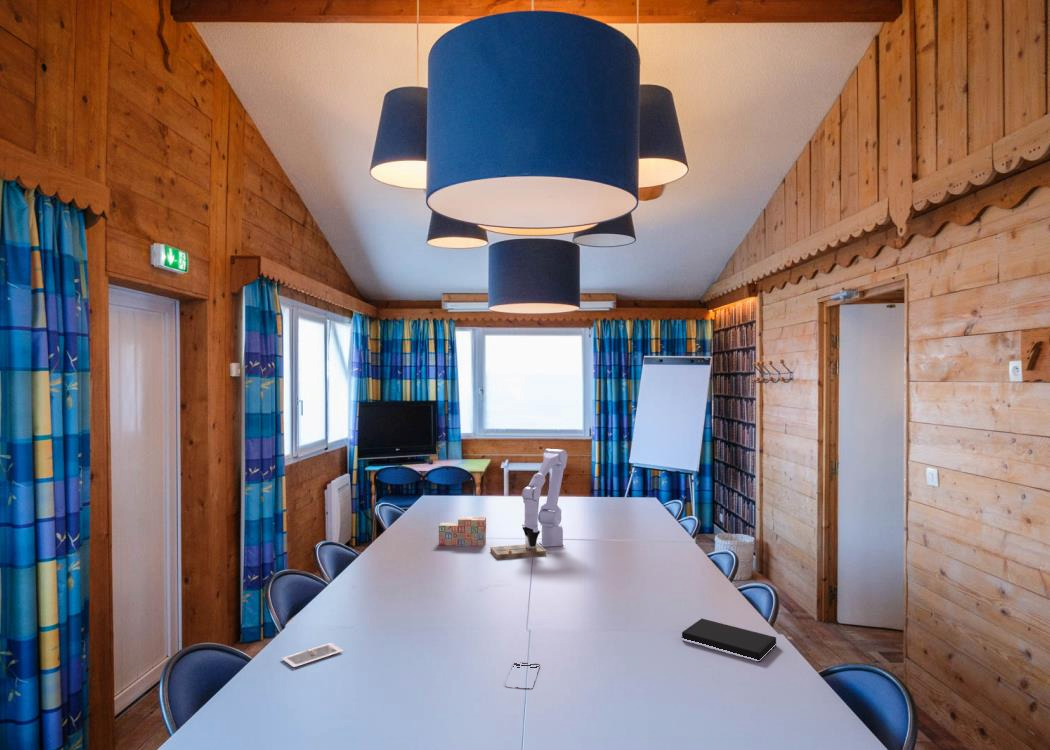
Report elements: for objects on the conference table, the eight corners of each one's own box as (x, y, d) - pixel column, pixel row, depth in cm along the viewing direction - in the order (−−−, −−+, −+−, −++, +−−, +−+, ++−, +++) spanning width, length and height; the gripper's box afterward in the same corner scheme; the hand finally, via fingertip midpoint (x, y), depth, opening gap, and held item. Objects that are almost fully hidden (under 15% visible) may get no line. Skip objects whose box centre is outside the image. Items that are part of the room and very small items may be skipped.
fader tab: (534, 545, 294) (534, 534, 294) (536, 548, 290) (536, 537, 290) (525, 546, 293) (525, 535, 293) (528, 549, 289) (528, 537, 289)
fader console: (537, 547, 299) (537, 540, 299) (546, 555, 287) (546, 548, 287) (490, 551, 292) (490, 544, 292) (497, 559, 281) (497, 551, 281)
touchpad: (344, 654, 188) (343, 646, 188) (293, 671, 178) (293, 663, 178) (330, 646, 194) (330, 638, 194) (281, 662, 184) (281, 654, 184)
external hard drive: (759, 663, 183) (759, 653, 183) (681, 642, 197) (681, 632, 197) (776, 647, 194) (776, 636, 194) (701, 627, 208) (701, 618, 208)
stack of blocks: (438, 545, 303) (438, 518, 303) (441, 541, 309) (441, 515, 309) (484, 546, 301) (484, 519, 301) (486, 543, 307) (486, 516, 307)
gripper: (517, 511, 297) (517, 541, 297) (527, 518, 283) (527, 549, 283) (532, 510, 299) (532, 540, 299) (542, 517, 285) (542, 548, 285)
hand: (531, 544), depth 291 cm, fingers open, 5 cm apart
